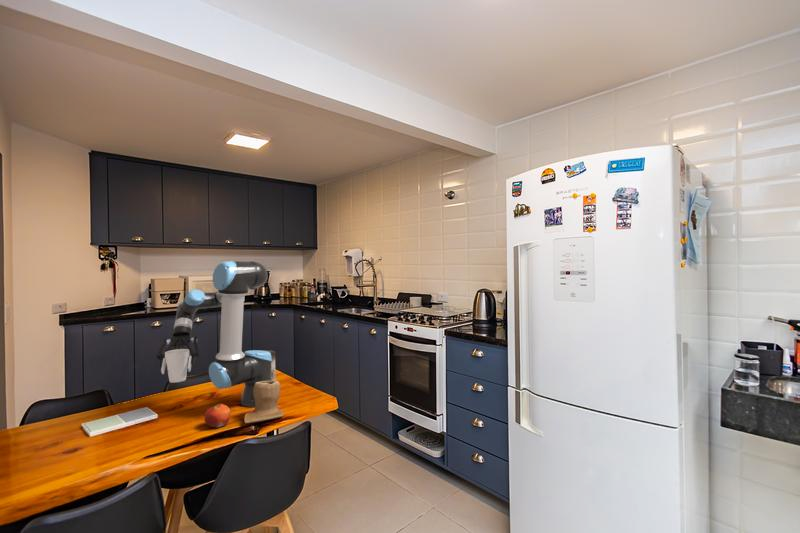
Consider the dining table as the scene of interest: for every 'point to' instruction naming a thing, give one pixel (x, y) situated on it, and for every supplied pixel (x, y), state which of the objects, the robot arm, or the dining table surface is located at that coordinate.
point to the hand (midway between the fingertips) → (175, 371)
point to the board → (118, 421)
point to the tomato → (217, 415)
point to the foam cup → (177, 364)
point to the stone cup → (265, 402)
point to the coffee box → (272, 364)
